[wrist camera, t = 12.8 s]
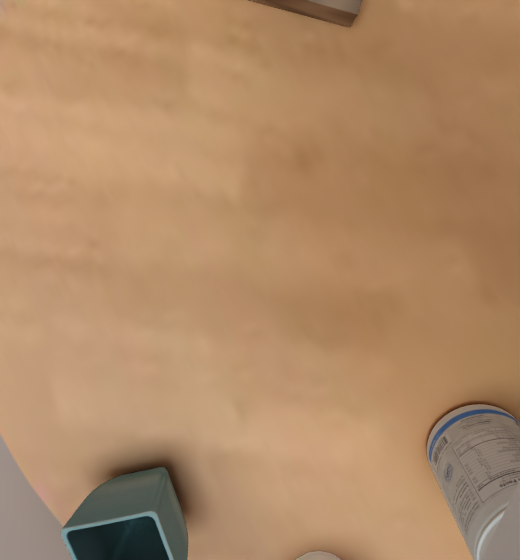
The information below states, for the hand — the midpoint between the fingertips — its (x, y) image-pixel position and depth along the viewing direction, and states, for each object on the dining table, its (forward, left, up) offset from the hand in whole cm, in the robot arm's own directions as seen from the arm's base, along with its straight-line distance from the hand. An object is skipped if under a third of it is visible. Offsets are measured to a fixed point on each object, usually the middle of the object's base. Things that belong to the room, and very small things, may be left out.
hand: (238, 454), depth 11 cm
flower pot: (+5, +30, -32) cm, 44 cm away
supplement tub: (-25, +16, -32) cm, 44 cm away
